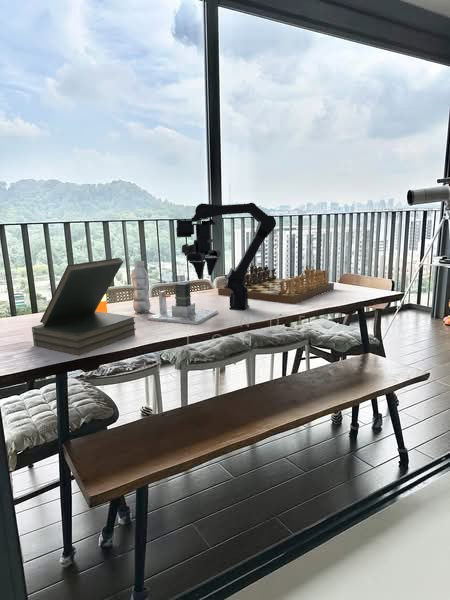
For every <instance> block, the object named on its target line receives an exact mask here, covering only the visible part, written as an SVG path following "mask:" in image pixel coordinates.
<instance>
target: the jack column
mask: <svg viewBox="0 0 450 600" xmlns="http://www.w3.org/2000/svg"><path fill="white" fill-rule="evenodd" d="M174 285H175V286H174V293H175V297H174V299H175V304H176V306H188V305H190V304H191V303H192V300H191V297H192V295H191V283H190V282H183V281H182V282H181V281H180V282H177V283H175V284H174Z"/></svg>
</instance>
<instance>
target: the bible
mask: <svg viewBox="0 0 450 600" xmlns="http://www.w3.org/2000/svg"><path fill="white" fill-rule="evenodd" d="M123 263H124V261H123V260H122V259H121V257H115V258H108V259H102V260H96V261H86V262H80V263H79V262H78V263H74V264H72V263H71V264H68V265H67V266H66V268H65V270H64V271H63V273H62V276H61V278H60V280H59V282H58V285H57V286H56V288H55V290H54V292H53V294H52V296H51V298H50V300H49V302H48V305H47V307H46V309H45V310H44V313H43V314H42V316H41V319H40V321H39V323H41V324H38V325H35V326H32V327H31V333H32V340H33V341H32V342H33V346H34V347H39V348H44V349H48V350H53V351H58V352H63V353H67V354H71V355H76V356H81V355H82V356H83V355H84V354H86V353H89V352H92V351H95V350H97V349H101V348H103V347H106V346H108V345H111V344H114V343H117V342H119V341H122V340H125V339H126V338H130V337H131V336H133V337H134V336H135V335H136V328H135V325H136V322H135V317H136V316H131V315H127V314H126V315H125V314H117V313H110V312H107V313H104V312H97V311H96V309H97V307H98V305H99V304H100V302H101V300H102V298H103V297H104V295H105V293H106V294H107V291H108V290H109V287H110V286H111V285H112V283H113V281H114V280H115V277H116V275H117V274H118V272H119V270H120V268H121V267H122V265H123Z"/></svg>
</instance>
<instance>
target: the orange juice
mask: <svg viewBox="0 0 450 600" xmlns="http://www.w3.org/2000/svg"><path fill="white" fill-rule="evenodd" d="M107 303H108V302H107V292H106V293H105V295H104V297H103V298H102V300H101V302H100V304H99V305H98V307H97V309H96V311H97V312H104V313H108V306H107Z"/></svg>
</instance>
